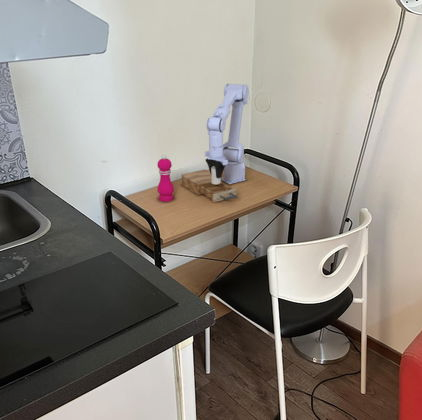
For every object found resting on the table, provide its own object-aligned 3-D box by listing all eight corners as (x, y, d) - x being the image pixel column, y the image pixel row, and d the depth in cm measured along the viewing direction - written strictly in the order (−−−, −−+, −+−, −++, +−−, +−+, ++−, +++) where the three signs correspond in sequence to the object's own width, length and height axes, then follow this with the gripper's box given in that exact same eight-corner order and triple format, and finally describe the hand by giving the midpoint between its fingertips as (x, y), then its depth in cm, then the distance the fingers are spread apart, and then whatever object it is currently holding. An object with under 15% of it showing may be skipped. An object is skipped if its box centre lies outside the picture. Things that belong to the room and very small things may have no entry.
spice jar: (217, 180, 194) (217, 165, 191) (222, 183, 191) (222, 167, 188) (209, 182, 193) (209, 167, 190) (214, 185, 189) (214, 169, 186)
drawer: (242, 199, 187) (242, 192, 186) (219, 206, 183) (220, 198, 181) (218, 186, 202) (218, 179, 201) (197, 191, 197) (197, 184, 196)
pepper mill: (161, 203, 190) (159, 159, 181) (155, 197, 196) (152, 154, 187) (177, 200, 192) (175, 156, 184) (170, 194, 198) (168, 151, 190)
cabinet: (221, 189, 201) (222, 178, 199) (198, 195, 196) (198, 184, 194) (204, 179, 213) (204, 169, 211) (181, 184, 208) (181, 174, 206)
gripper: (198, 143, 189) (199, 173, 195) (217, 151, 177) (217, 183, 183) (212, 140, 192) (212, 169, 198) (232, 148, 180) (231, 179, 186)
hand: (215, 176), depth 191 cm, fingers closed on spice jar, 4 cm apart
